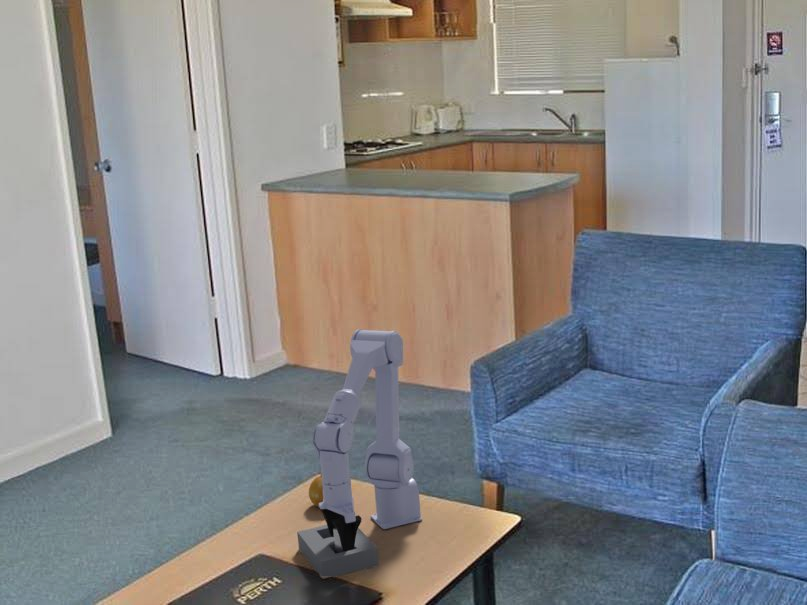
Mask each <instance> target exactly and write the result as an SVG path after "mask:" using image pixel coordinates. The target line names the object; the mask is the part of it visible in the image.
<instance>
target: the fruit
mask: <svg viewBox="0 0 807 605" xmlns="http://www.w3.org/2000/svg"><path fill="white" fill-rule="evenodd" d="M308 497H309V500H310V502H311V503H312V505H314V506H315V507H317V508H319V507H318V504H319V503H321V502H323V499H324V498H323V484H322V474H321V473H320V476H319V475H318V476H317V477H315V478H314V479H313V480H312V481H311V483H310V485H309V487H308Z"/></svg>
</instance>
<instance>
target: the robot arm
mask: <svg viewBox="0 0 807 605" xmlns="http://www.w3.org/2000/svg"><path fill="white" fill-rule="evenodd" d="M349 348H350V349H349V350H350V356H351V361H350V364H349V368H348V370H347V374H346V376H345V380H344V384H343V388H342V389H340V390H338V391H336V392H335V393H334V395H333V398H332V400H331V403H330V405H329V407H328V410H327V412H326V415H325V417H324V419H323V421H322V422H321V423H319V424H317V425H316V426H315V428H314V430H313V433H312V439H311V443H312V446H313V448H314V450H315V452H316V458H317V459H318V460H319V461H320V471H321V473H320V475H321V474H322V484H323V498H324V499H323V502H321V503H319V504H318V507H317V508H318V509H319V510H320V511H321V513H322V515H323V518H324V520H325V523H326V525H327V526H328V529H329V533H330V535H331V537H334V533H333V528H334V527H336V529H337V531H338V534H339V537H340V542H341V546H342V549H343V551H344V552H346V551H350V550H353V549H354V545H355V539H356V533H357V530H358V528H359V527H360V525H361V523H362V519H363V518H362V517H361V516H360V515H359V514H357V515H356V511H355V509H354V508H355V507H354V506H355V505H354V504H355V503H354V498H353V490H352V481H351V469H350V459H349V450H350V448H351V446H352V445H353V440H354V437H353V436H354V431H355V430H354V429H355V427H354V422H355V420H356V418H357V415H358V413H359V410H360V408H361V405H362V401H361V399H360V397H359V396H360V394H361V392H362V390H363V387H364V386H365V384H366V382H367V381H368V378H369V377H370V374H371V372H372V370H374V373H375V374H374V377H375V439H376V440H375V441H374V442H372V443H371V444H370V445H369V446H368V447H367V448H366V453H365V454H366V455H365V460H364V466H363V469H364V474H365V476H366V478H367V479H368V480H370V483H371V485H374V496H375V497H374V498H375V510H376V513H373V514H370V518H371V519H372V520H373V521H374V522H375V523H376V524H377V525H378V526H379V527H380V528H381V529H382V530H386V529H387V530H388V529H391V528H395V527H400V526H404V525H407V524H411V523H415V522H419V521H422V520H423V517H422V514H421V502H420V501H421V500H420V492H419V490H420V489H419V487H418V483H417V481H416V480H415V479H414V478H413V475H414V470H415V464H414V461H413V456H412V449H411V447H410V446H408V445H407V444H406V443H405V442H404V441H403V440H401V439H400V413H399V412H400V410H399V409H400V408H399V407H400V401H399V396H400V395H399V391H400V390H399V367H401V366H403V363H404V362H403V360H404V342H403V338H402V336H401V334H399V332H398V331H396V330H391V331H390V330H388V331H387V330H369V329H368V330H365V329H362V328H361V329H359V328H358V329H356V330H354V332H353V334H352V336H351V339H350V344H349Z"/></svg>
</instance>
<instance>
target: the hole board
mask: <svg viewBox="0 0 807 605" xmlns="http://www.w3.org/2000/svg"><path fill="white" fill-rule="evenodd" d="M296 533H297V543H298V550H299V552H301V554H302V555H303V556H304V558H305V559H306V560H307V562H308V563H309V564H310V566H311V567H312V568H313V570H314V571H315V572H316V571H317V572H318V573H320V574H321V575H322V576H331V577H333V578H336V577H340V576H344V575H348V574H352V573H355V572H359V571H363V570H367V569H371V568H374V567H378V566H379V556H378V554H379V553H378V547H377V545H375V543H373V542H372V540H370V538H369V537H368V536H367V534H365V533H364V532H363V531H362V530H361V529H360V528H359V527H358V530H357V533H356V539H355V545H354V549H353V550H350V551H346V552H341V553H337V554H335V544H334V537H331V535H330V533H329V529H328V526H327V524H324V525H320V526H317V527H312V528H307V529H303V530H299V531H297V532H296ZM317 572H316V573H317ZM318 573H317V574H318Z"/></svg>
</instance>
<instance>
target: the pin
mask: <svg viewBox="0 0 807 605" xmlns="http://www.w3.org/2000/svg"><path fill="white" fill-rule="evenodd" d="M333 533H334V544H335V554H337V553H341V552H344V551H343V549H342V546H341V542H340V537H339V534H338V531H337V529H336V527H334V528H333Z"/></svg>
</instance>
